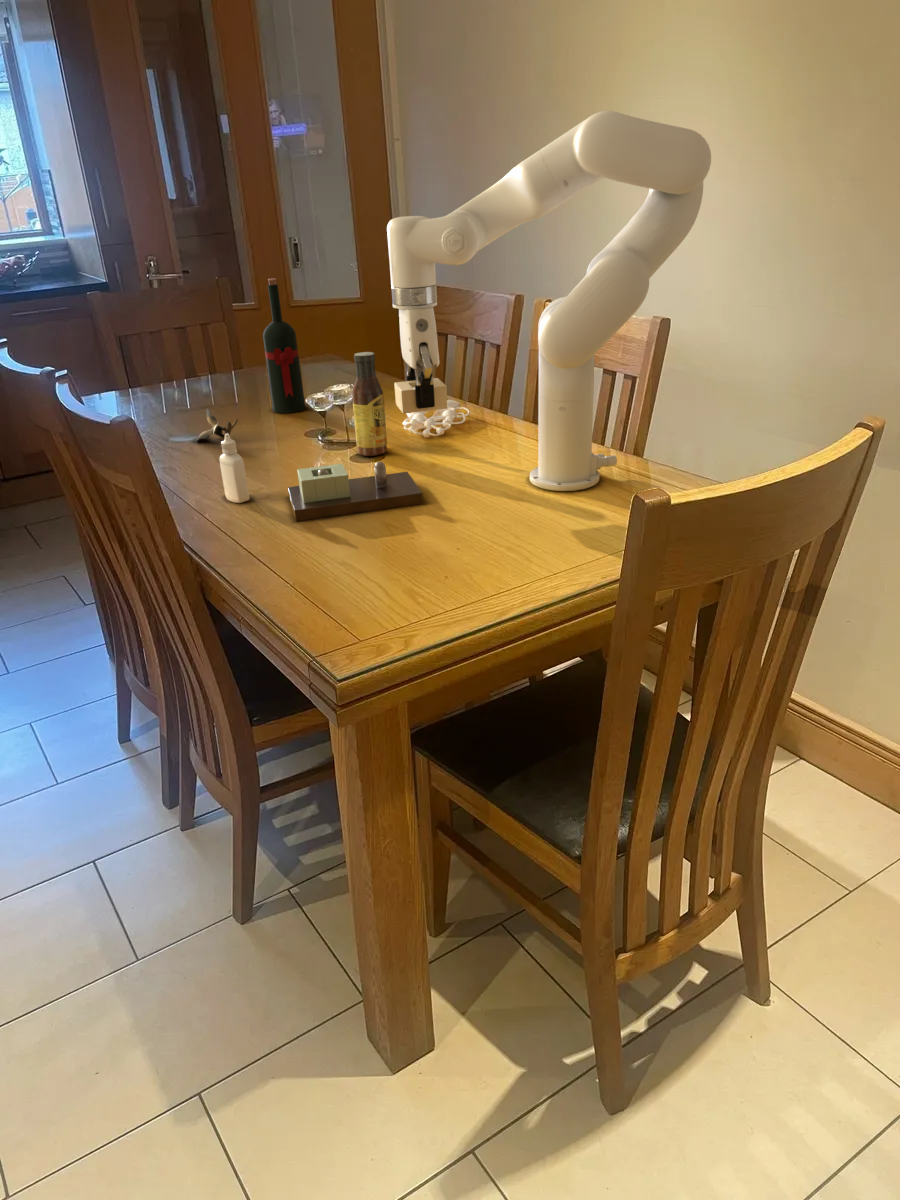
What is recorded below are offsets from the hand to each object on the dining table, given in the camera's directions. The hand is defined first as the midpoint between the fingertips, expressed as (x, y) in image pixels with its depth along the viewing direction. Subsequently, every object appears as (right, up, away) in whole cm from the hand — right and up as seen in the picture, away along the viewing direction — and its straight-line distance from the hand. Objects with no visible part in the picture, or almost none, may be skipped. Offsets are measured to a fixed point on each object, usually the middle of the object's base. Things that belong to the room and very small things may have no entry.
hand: (421, 401), depth 153 cm
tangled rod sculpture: (+2, +4, +39) cm, 40 cm away
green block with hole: (-17, -17, -2) cm, 24 cm away
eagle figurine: (-46, 0, +36) cm, 59 cm away
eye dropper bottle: (-33, -17, +3) cm, 38 cm away
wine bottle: (-34, +11, +56) cm, 67 cm away
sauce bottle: (-11, -5, +24) cm, 27 cm away
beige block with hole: (0, -1, 0) cm, 1 cm away
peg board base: (-12, -18, 0) cm, 21 cm away
